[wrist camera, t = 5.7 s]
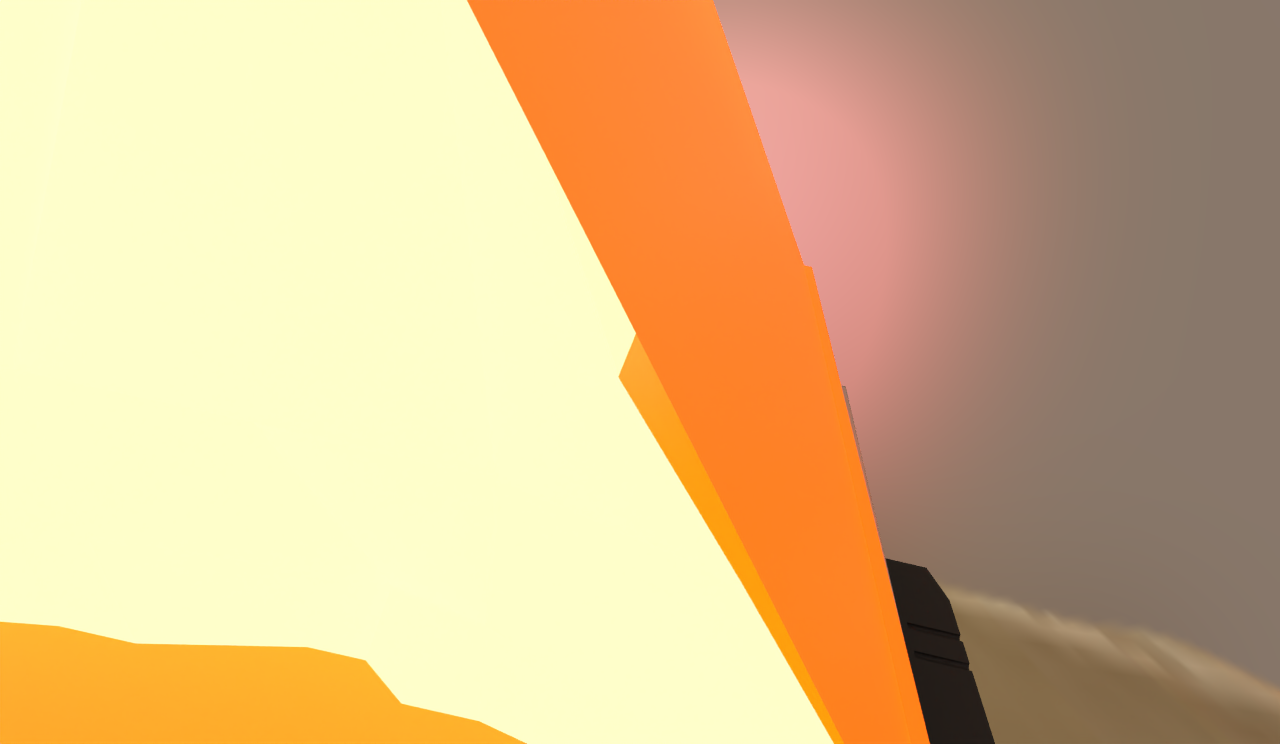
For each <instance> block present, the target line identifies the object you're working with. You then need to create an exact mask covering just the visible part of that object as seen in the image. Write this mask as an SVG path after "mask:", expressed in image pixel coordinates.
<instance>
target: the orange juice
mask: <svg viewBox="0 0 1280 744" xmlns="http://www.w3.org/2000/svg"><path fill="white" fill-rule="evenodd" d="M0 744H930V743H929V739H928V735H927V731H926V726H925V722H924V718H923V714H922V710H921V706H920V702H919V698H918V694H917V690H916V686H915V682H914V678H913V674H912V670H911V666H910V662H909V658H908V654H907V650H906V646H905V642H904V638H903V634H902V630H901V626H900V621H899V617H898V613H897V609H896V605H895V601H894V597H893V593H892V589H891V585H890V581H889V577H888V573H887V569H886V565H885V561H884V557H883V553H882V549H881V545H880V541H879V537H878V533H877V529H876V525H875V521H874V516H873V512H872V508H871V504H870V500H869V496H868V492H867V488H866V484H865V480H864V476H863V472H862V468H861V464H860V460H859V456H858V452H857V448H856V444H855V440H854V436H853V432H852V428H851V424H850V420H849V416H848V411H847V407H846V403H845V399H844V395H843V391H842V387H841V384H840V379H839V375H838V371H837V367H836V363H835V359H834V355H833V351H832V347H831V343H830V339H829V335H828V331H827V327H826V323H825V319H824V315H823V311H822V306H821V302H820V298H819V294H818V291H817V286H816V282H815V279H814V274H813V270H812V267H809V266H804V264H803V261H802V258H801V255H800V252H799V249H798V247H797V244H796V241H795V238H794V235H793V232H792V229H791V226H790V223H789V221H788V218H787V215H786V212H785V209H784V206H783V203H782V200H781V197H780V194H779V191H778V189H777V185H776V183H775V180H774V177H773V174H772V171H771V168H770V165H769V163H768V159H767V156H766V154H765V151H764V148H763V145H762V142H761V139H760V136H759V133H758V130H757V127H756V124H755V122H754V119H753V116H752V113H751V110H750V107H749V104H748V102H747V98H746V95H745V92H744V90H743V87H742V84H741V81H740V78H739V75H738V72H737V69H736V66H735V63H734V61H733V58H732V55H731V52H730V49H729V46H728V43H727V40H726V37H725V34H724V31H723V29H722V26H721V23H720V20H719V17H718V14H717V11H716V8H715V5H714V2H713V0H0Z"/></svg>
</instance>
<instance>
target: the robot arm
mask: <svg viewBox="0 0 1280 744" xmlns="http://www.w3.org/2000/svg"><path fill="white" fill-rule="evenodd" d="M841 387H842V391H843V395H844V399H845V403H846V407H847V411H848V416H849V420H850V424H851V428H852V432H853V436H854V440H855V444H856V448H857V452H858V456H859V460H860V464H861V468H862V472H863V476H864V480H865V484H866V488H867V492H868V496H869V500H870V504H871V508H872V512H873V516H874V521H875V525H876V529H877V533H878V537H879V541H880V545H881V549H882V553H883V557H884V561H885V565H886V569H887V573H888V577H889V581H890V585H891V589H892V593H893V597H894V601H895V605H896V609H897V613H898V617H899V621H900V626H901V630H902V634H903V638H904V642H905V646H906V650H907V654H908V658H909V662H910V666H911V670H912V674H913V678H914V682H915V686H916V690H917V694H918V698H919V702H920V706H921V710H922V714H923V718H924V722H925V726H926V731H927V735H928V739H929V743H930V744H995V742H994V739H993V736H992V733H991V730H990V727H989V723H988V720H987V717H986V714H985V711H984V708H983V705H982V701H981V698H980V695H979V692H978V689H977V686H976V682H975V679H974V676H973V673H972V671H969V660H968V657H967V654H966V651H965V648H964V645H963V642H962V641H960V639H959V638H960V632H959V629H958V626H957V623H956V619H955V616H954V613H953V610H952V607H951V604H950V601H949V599H948V598H947V596H946V595H945V593H944V592H943V591H942V589H941V588H940V586H939V585H938V584H937V582H936V581H935V579H934V578H933V577H932V575H931V574H930V572H929V571H928V570H927V568H925V567H920V566H916V565H912V564H907V563H903V562H899V561H894V560H890V559H886V558H885V556H884V551H883V547H882V542H881V538H880V534H879V530H878V525H877V521H876V516H875V512H874V508H873V503H872V499H871V495H870V491H869V486H868V482H867V477H866V473H865V469H864V465H863V460H862V456H861V452H860V447H859V443H858V438H857V434H856V430H855V426H854V421H853V417H852V413H851V408H850V404H849V400H848V395H847V391H846V387H845V386H841Z"/></svg>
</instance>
